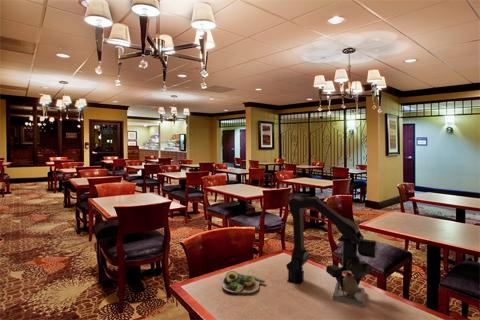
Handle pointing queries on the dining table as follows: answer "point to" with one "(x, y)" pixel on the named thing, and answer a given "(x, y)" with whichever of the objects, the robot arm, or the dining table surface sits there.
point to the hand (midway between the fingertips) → (348, 288)
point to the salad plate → (240, 283)
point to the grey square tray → (355, 300)
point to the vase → (349, 285)
